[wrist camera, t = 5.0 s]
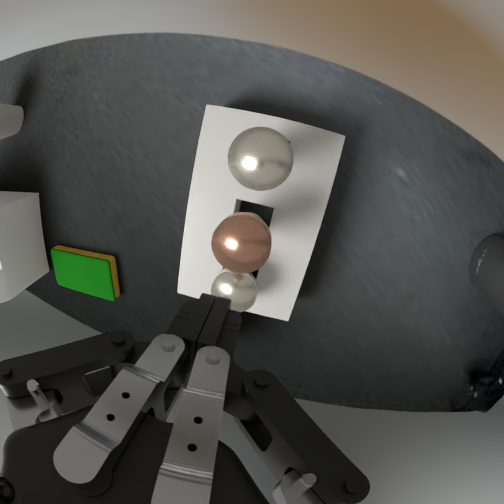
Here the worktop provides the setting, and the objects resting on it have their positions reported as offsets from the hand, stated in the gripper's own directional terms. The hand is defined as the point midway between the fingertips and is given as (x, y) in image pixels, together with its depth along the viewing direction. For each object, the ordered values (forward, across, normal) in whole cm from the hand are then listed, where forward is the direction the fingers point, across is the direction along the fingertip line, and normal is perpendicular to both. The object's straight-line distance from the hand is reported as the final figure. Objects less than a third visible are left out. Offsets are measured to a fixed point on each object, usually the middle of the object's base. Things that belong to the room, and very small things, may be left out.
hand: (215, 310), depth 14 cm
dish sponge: (+21, +27, +15) cm, 37 cm away
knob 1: (+18, 0, +7) cm, 20 cm away
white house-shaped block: (+21, +48, +11) cm, 53 cm away
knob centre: (+14, 0, 0) cm, 14 cm away
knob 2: (+14, 0, -7) cm, 16 cm away
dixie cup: (+21, +48, -11) cm, 53 cm away
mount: (+21, 0, 0) cm, 21 cm away
